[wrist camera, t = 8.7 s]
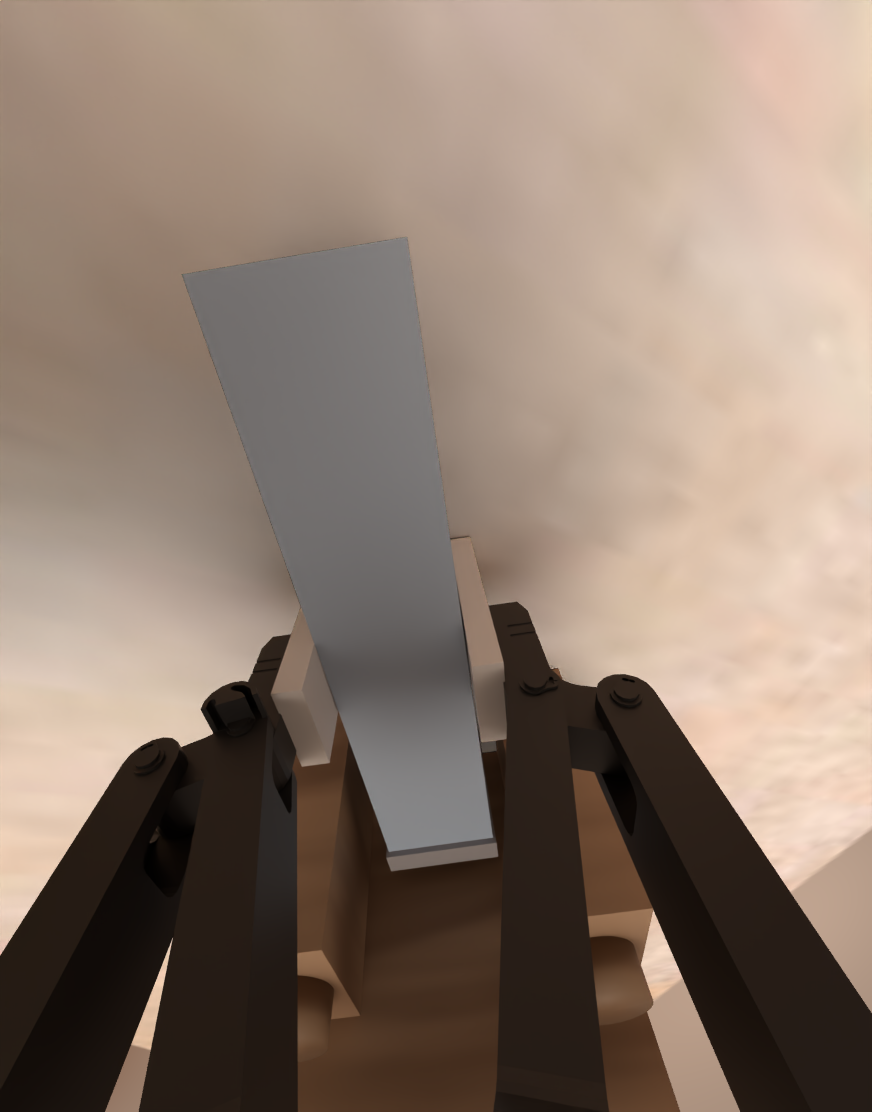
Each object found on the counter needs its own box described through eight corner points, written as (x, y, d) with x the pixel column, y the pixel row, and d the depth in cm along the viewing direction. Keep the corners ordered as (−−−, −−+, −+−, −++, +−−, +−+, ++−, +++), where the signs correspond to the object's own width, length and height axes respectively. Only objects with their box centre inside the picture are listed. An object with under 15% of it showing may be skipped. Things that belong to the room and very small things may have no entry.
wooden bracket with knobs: (286, 705, 20) (111, 1317, 8) (558, 668, 20) (786, 1241, 8) (326, 799, 24) (243, 1325, 12) (557, 769, 24) (716, 1272, 12)
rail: (256, 280, 12) (170, 274, 8) (410, 254, 12) (412, 234, 8) (394, 754, 22) (391, 871, 18) (479, 742, 22) (498, 856, 18)
